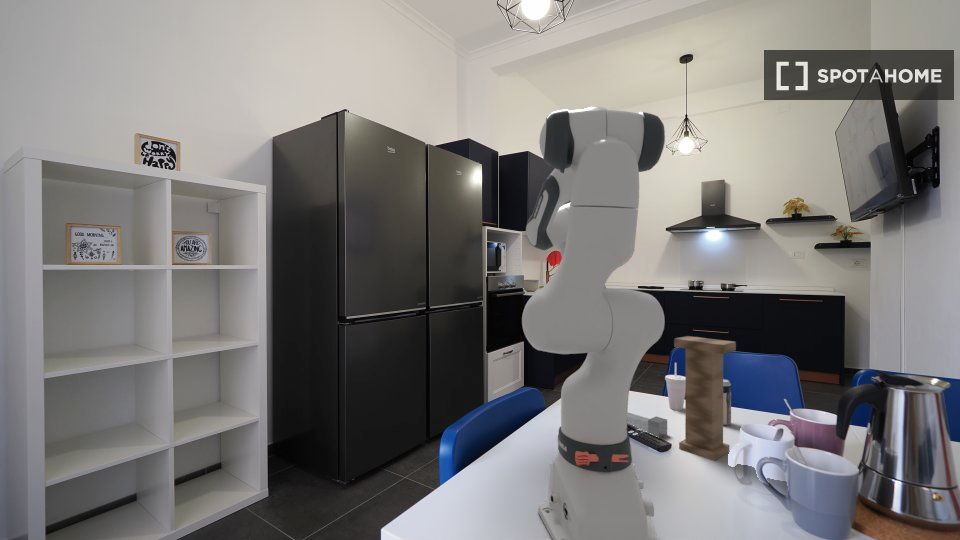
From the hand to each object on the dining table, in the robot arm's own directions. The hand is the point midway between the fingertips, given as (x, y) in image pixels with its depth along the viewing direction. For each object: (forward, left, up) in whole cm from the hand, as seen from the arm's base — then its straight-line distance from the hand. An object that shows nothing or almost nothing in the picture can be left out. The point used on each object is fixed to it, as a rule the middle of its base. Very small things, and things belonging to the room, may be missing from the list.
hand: (605, 300), depth 111 cm
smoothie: (+17, -27, -35) cm, 47 cm away
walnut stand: (-13, -20, -34) cm, 42 cm away
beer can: (+5, -34, -35) cm, 49 cm away
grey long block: (+2, -8, -35) cm, 36 cm away
